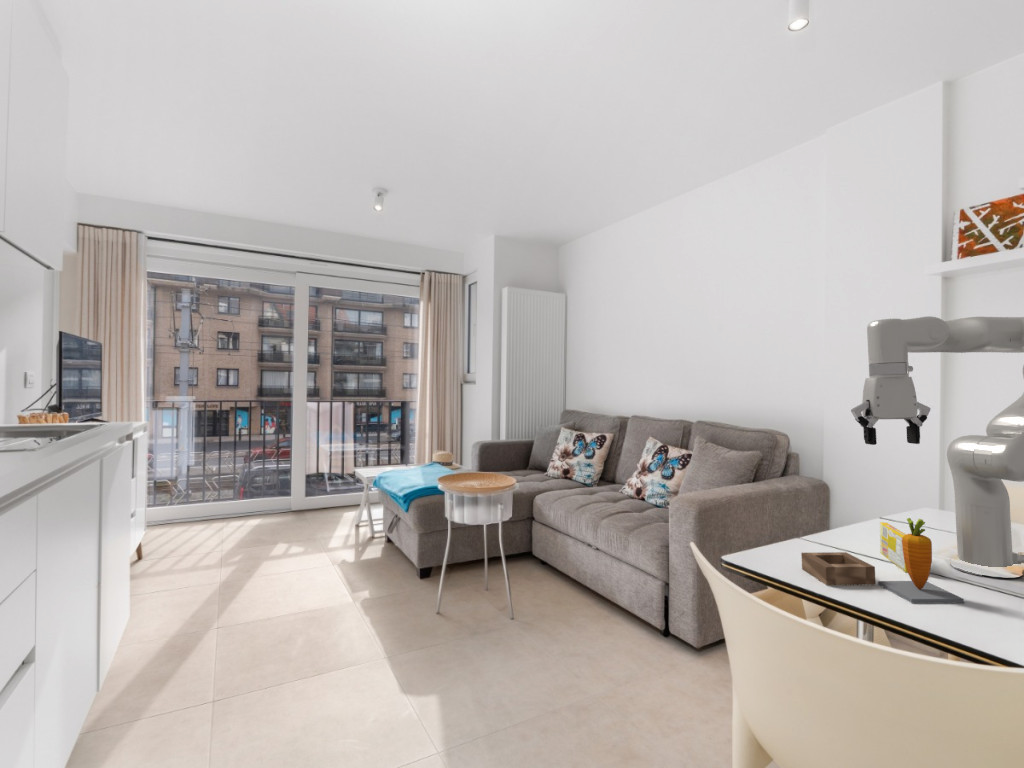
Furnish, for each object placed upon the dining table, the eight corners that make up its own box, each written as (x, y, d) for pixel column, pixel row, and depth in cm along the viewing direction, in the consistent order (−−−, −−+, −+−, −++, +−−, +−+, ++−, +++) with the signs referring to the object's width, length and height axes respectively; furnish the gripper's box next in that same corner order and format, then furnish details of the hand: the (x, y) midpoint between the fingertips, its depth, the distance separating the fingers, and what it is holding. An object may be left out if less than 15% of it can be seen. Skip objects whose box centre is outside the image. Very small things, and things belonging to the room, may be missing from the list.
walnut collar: (846, 569, 121) (846, 552, 121) (875, 585, 111) (874, 566, 111) (802, 569, 122) (801, 552, 122) (826, 585, 111) (825, 567, 111)
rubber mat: (925, 584, 110) (925, 580, 110) (963, 602, 100) (963, 598, 100) (878, 584, 111) (878, 581, 111) (911, 603, 101) (911, 599, 101)
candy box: (916, 574, 117) (914, 538, 117) (905, 573, 118) (903, 537, 118) (889, 553, 132) (887, 521, 133) (879, 552, 133) (878, 521, 133)
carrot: (902, 583, 109) (898, 514, 110) (931, 587, 107) (927, 516, 107) (906, 591, 105) (902, 519, 105) (937, 595, 102) (932, 521, 103)
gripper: (914, 371, 122) (918, 441, 122) (841, 373, 123) (844, 443, 123) (939, 369, 115) (943, 444, 114) (860, 371, 116) (864, 446, 115)
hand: (892, 443), depth 118 cm, fingers open, 9 cm apart
